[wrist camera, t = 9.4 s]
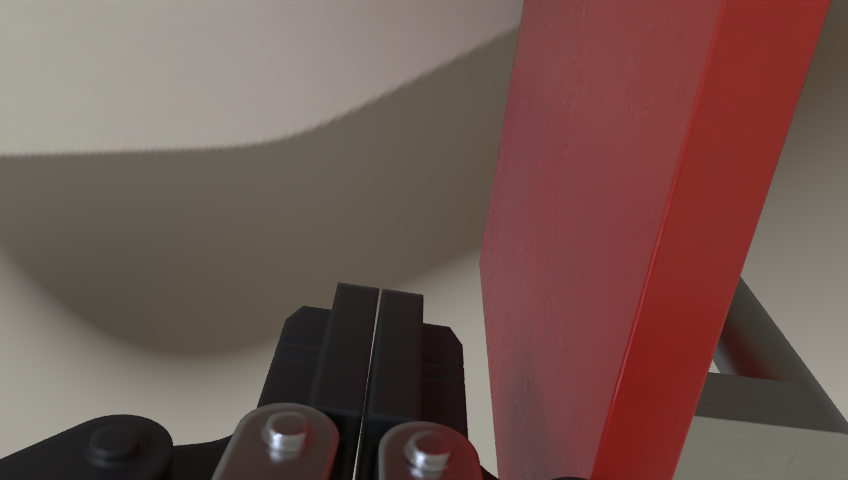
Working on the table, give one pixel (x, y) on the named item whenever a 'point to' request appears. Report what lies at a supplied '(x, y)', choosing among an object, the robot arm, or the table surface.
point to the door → (647, 247)
